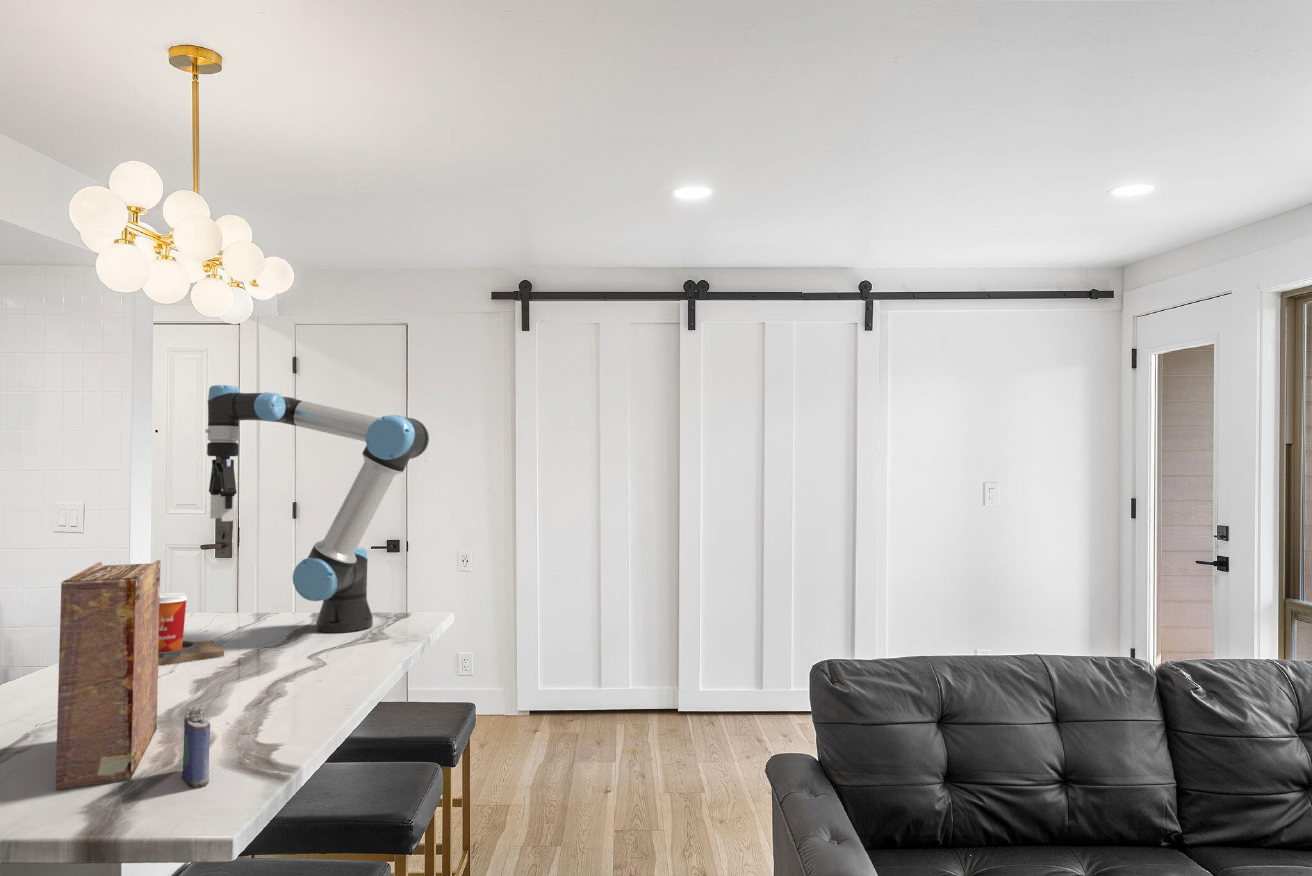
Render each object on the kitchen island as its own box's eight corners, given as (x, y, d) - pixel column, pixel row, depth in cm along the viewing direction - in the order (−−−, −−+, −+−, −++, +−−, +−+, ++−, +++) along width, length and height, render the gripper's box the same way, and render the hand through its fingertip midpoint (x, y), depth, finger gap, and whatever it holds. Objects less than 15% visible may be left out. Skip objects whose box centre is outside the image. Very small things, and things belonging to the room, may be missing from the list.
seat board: (211, 646, 200) (211, 635, 200) (223, 656, 190) (224, 645, 190) (107, 659, 186) (107, 648, 186) (114, 671, 175) (115, 659, 176)
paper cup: (141, 656, 184) (142, 596, 184) (170, 648, 191) (171, 591, 192) (166, 658, 182) (167, 598, 182) (194, 650, 189) (195, 592, 189)
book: (95, 735, 135) (99, 561, 136) (157, 727, 139) (161, 559, 140) (54, 791, 112) (60, 582, 113) (131, 780, 116) (135, 578, 117)
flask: (210, 785, 114) (211, 711, 114) (187, 790, 112) (188, 715, 113) (200, 766, 121) (201, 697, 122) (178, 771, 119) (179, 700, 120)
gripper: (198, 442, 220) (196, 517, 219) (218, 440, 201) (216, 523, 200) (227, 443, 225) (226, 516, 224) (249, 441, 206) (248, 521, 205)
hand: (221, 519), depth 212 cm, fingers open, 13 cm apart
